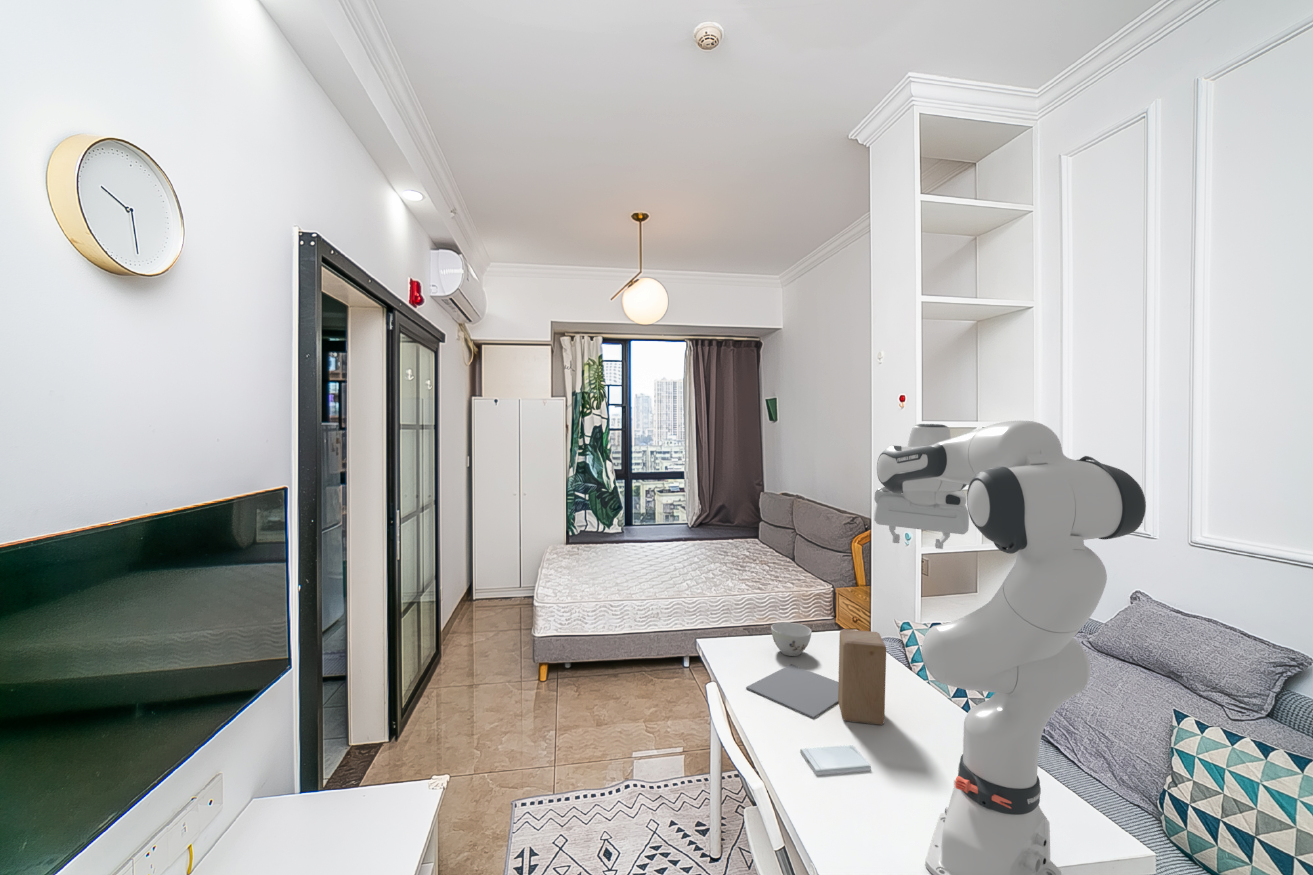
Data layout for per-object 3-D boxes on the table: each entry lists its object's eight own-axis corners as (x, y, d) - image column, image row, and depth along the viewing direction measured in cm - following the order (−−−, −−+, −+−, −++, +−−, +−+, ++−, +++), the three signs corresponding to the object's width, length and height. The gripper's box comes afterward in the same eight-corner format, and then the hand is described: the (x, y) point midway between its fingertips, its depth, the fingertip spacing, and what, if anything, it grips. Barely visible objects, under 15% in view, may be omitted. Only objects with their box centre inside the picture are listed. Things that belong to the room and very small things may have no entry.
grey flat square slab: (813, 718, 140) (813, 716, 140) (746, 688, 156) (746, 686, 156) (856, 690, 155) (856, 688, 155) (791, 665, 171) (791, 664, 171)
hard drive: (852, 743, 128) (800, 747, 126) (871, 765, 120) (816, 769, 118) (851, 750, 128) (800, 754, 126) (870, 772, 120) (815, 777, 118)
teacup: (816, 661, 174) (816, 635, 174) (776, 661, 174) (776, 635, 174) (802, 642, 189) (802, 618, 189) (765, 641, 189) (765, 618, 189)
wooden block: (885, 726, 137) (887, 645, 136) (842, 721, 139) (844, 642, 138) (877, 706, 147) (879, 630, 146) (837, 702, 149) (839, 627, 148)
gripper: (875, 490, 132) (870, 544, 136) (974, 500, 125) (966, 556, 129) (875, 481, 138) (870, 533, 141) (969, 490, 131) (962, 545, 135)
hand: (917, 544), depth 135 cm, fingers open, 8 cm apart
